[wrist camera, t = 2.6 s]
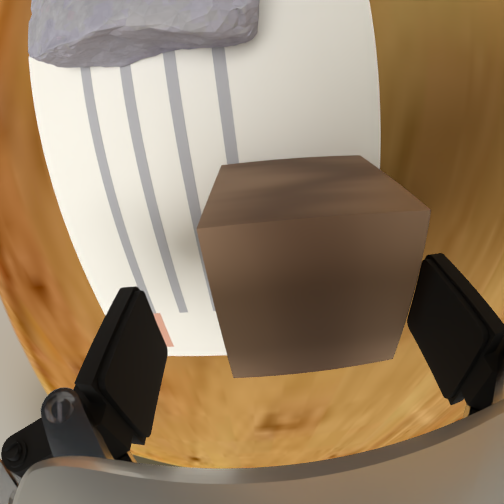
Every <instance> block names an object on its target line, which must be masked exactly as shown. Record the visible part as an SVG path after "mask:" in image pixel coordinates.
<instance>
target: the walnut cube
mask: <svg viewBox="0 0 504 504" xmlns="http://www.w3.org/2000/svg"><path fill="white" fill-rule="evenodd" d="M430 214H431V210H430V209H429V208H428V207H427V206H426V205H425V204H423V203H422V202H421V201H420V200H419V199H417V198H416V197H415V196H414V195H412V194H411V193H410V192H409V191H407V190H406V189H405V188H404V187H402V186H401V185H400V184H399V183H397V182H396V181H395V180H393V179H392V178H391V177H389V176H388V175H387V174H385V173H384V172H383V171H381V170H380V169H379V168H377V167H376V166H374V165H373V164H372V163H370V162H369V161H367V160H366V159H365V158H363V157H362V156H360V155H349V156H322V157H304V158H290V159H277V160H265V161H255V162H245V163H236V164H228V165H221V167H220V170H219V172H218V175H217V177H216V180H215V182H214V185H213V187H212V190H211V192H210V195H209V197H208V200H207V202H206V205H205V208H204V210H203V213H202V215H201V218H200V221H199V223H198V226H197V234H198V238H199V243H200V247H201V252H202V256H203V261H204V265H205V269H206V274H207V278H208V282H209V286H210V290H211V294H212V298H213V302H214V306H215V310H216V314H217V318H218V322H219V326H220V330H221V334H222V338H223V341H224V345H225V349H226V352H227V356H228V360H229V363H230V367H231V371H232V374H233V378H244V377H262V376H276V375H287V374H298V373H307V372H315V371H323V370H331V369H338V368H344V367H351V366H357V365H363V364H368V363H374V362H379V361H384V360H389V359H393V357H394V354H395V351H396V348H397V346H398V343H399V340H400V337H401V334H402V331H403V328H404V325H405V321H406V318H407V315H408V312H409V308H410V305H411V301H412V298H413V294H414V290H415V286H416V283H417V279H418V274H419V270H420V266H421V262H422V257H423V252H424V247H425V242H426V237H427V232H428V226H429V220H430Z"/></svg>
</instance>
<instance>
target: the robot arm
mask: <svg viewBox="0 0 504 504" xmlns="http://www.w3.org/2000/svg"><path fill="white" fill-rule="evenodd" d="M407 323H408V327H409V329H410V331H411V333H412V335H413V337H414V338H415V340H416V342H417V344H418V346H419V348H420V350H421V352H422V354H423V356H424V357H425V359H426V361H427V363H428V365H429V367H430V369H431V371H432V373H433V375H434V377H435V380H436V382H437V384H438V386H439V388H440V390H441V392H442V394H443V396H444V397H445V398H446V399H447V398H448V400H449V402H450V405H453V404H455V403H458V402H460V401H462V400H463V399H465V401H466V407H465V411H464V415H463V418H462V419H461V420H458V421H456V422H454V423H451V424H449V425H447V426H444V427H442V428H439V429H437V430H434V431H431V432H429V433H426V434H423V435H420V436H417V437H414V438H411V439H408V440H405V441H402V442H399V443H396V444H392V445H389V446H385V447H382V448H378V449H374V450H370V451H366V452H362V453H358V454H353V455H349V456H344V457H339V458H334V459H328V460H322V461H316V462H309V463H302V464H294V465H285V466H274V467H260V468H237V469H209V468H186V467H172V466H160V465H159V466H158V465H150V464H140V463H137V462H136V460H135V459H134V457H133V455H132V454H131V452H130V447H131V443H133V444H140V445H145V440H146V437H149V436H150V434H151V430H152V425H153V420H154V415H155V410H156V405H157V400H158V396H159V391H160V386H161V382H162V377H163V373H164V368H165V364H166V360H167V355H168V350H167V346H166V343H165V341H164V339H163V336H162V334H161V332H160V329H159V327H158V325H157V322H156V320H155V317H154V315H153V312H152V310H151V307H150V305H149V302H148V300H147V297H146V294H145V292H144V291H142V290H140V289H139V288H138V287H136V286H135V287H122V288H120V289H119V291H118V293H117V295H116V297H115V299H114V300H113V302H112V304H111V306H110V308H109V310H108V312H107V314H106V316H105V318H104V320H103V322H102V324H101V326H100V328H99V330H98V332H97V334H96V336H95V338H94V341H93V343H92V345H91V347H90V349H89V351H88V353H87V356H86V358H85V360H84V362H83V365H82V367H81V369H80V371H79V374H78V376H77V378H76V381H75V384H76V385H75V387H74V390H72V389H70V388H59V389H56V390H54V391H53V392H51V393H50V394H49V395H48V396H47V397H46V398H45V400H44V402H43V404H42V407H41V417H42V418H40V419H38V420H37V421H35V422H33V423H32V424H30V425H28V426H27V427H25V428H24V429H22V430H20V431H18V432H17V433H15V434H13V435H12V436H10V437H9V438H8V439H7V440H6V441H5V443H4V445H3V447H2V452H1V456H2V460H1V459H0V504H504V324H503V323H502V321H501V320H500V319H499V317H498V316H497V315H496V313H495V312H494V311H493V310H492V308H491V307H490V306H489V305H488V304H487V302H486V301H485V300H484V299H483V297H482V296H481V295H480V294H479V293H478V292H477V290H476V289H475V288H474V287H473V286H472V285H471V283H470V282H469V281H468V280H467V279H466V278H465V277H464V276H463V274H462V273H461V272H460V271H459V270H458V269H457V268H456V267H455V266H454V265H453V264H452V263H451V262H450V260H449V259H448V258H447V257H446V256H445V255H444V254H442V253H438V254H431V255H427V256H426V258H425V260H423V261H422V263H421V268H420V272H419V277H418V281H417V285H416V289H415V293H414V297H413V301H412V304H411V308H410V311H409V315H408V319H407Z"/></svg>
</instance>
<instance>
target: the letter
mask: <svg viewBox="0 0 504 504" xmlns="http://www.w3.org/2000/svg"><path fill="white" fill-rule="evenodd" d="M29 68H30V77H31V86H32V93H33V100H34V107H35V112H36V118H37V123H38V128H39V133H40V138H41V142H42V147H43V151H44V155H45V159H46V163H47V167H48V171H49V174H50V178H51V181H52V185H53V188H54V191H55V195H56V198H57V201H58V204H59V207H60V210H61V213H62V216H63V219H64V221H65V224H66V227H67V230H68V232H69V235H70V238H71V240H72V243H73V245H74V248H75V250H76V253H77V255H78V258H79V260H80V262H81V265H82V267H83V269H84V272H85V274H86V276H87V278H88V281H89V283H90V285H91V287H92V289H93V291H94V293H95V296H96V298H97V300H98V302H99V304H100V306H101V308H102V310H103V312H104V314H105V316H106V314H107V312H108V310H109V308H110V306H111V304H112V302H113V300H114V299H115V297H116V295H117V293H118V291H119V289H120V288H122V287H135V286H136V287H138V288H139V289H140V290H142V291H144V292H145V294H146V297H147V300H148V302H149V305H150V307H151V310H152V312H153V315H154V317H155V320H156V322H157V325H158V327H159V329H160V332H161V334H162V336H163V339H164V341H165V343H166V346H167V350H168V355H167V356H213V355H227V352H226V349H225V345H224V341H223V338H222V334H221V330H220V326H219V322H218V318H217V314H216V310H215V306H214V302H213V298H212V294H211V290H210V286H209V282H208V278H207V274H206V269H205V265H204V261H203V256H202V252H201V247H200V243H199V238H198V234H197V226H198V223H199V221H200V218H201V215H202V213H203V210H204V208H205V205H206V202H207V200H208V197H209V195H210V192H211V190H212V187H213V185H214V182H215V180H216V177H217V175H218V172H219V170H220V167H221V165H228V164H236V163H245V162H255V161H265V160H277V159H290V158H304V157H322V156H349V155H360V156H362V157H363V158H365V159H366V160H367V161H369V162H370V163H372V164H373V165H374V166H376V167H377V168H379V169H380V149H381V125H380V93H379V77H378V64H377V53H376V44H375V35H374V28H373V21H372V14H371V8H370V2H369V0H260V1H259V19H258V32H257V34H256V35H255V37H254V38H253V39H252V40H250V41H248V42H246V43H241V44H238V45H235V46H228V47H215V48H197V49H189V50H187V49H180V50H174V51H169V52H165V53H161V54H158V55H156V56H152V57H148V58H144V59H141V60H139V61H136V62H134V63H132V64H129V65H126V66H123V67H102V66H91V67H86V68H80V67H78V68H75V67H74V68H63V67H56V66H54V65H51V64H47V63H44V62H40V61H37V60H35V59H33V58H31V57H30V56H29Z"/></svg>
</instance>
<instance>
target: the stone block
mask: <svg viewBox="0 0 504 504" xmlns="http://www.w3.org/2000/svg"><path fill="white" fill-rule="evenodd" d="M259 1H260V0H32V3H31V11H32V16H31V19H30V21H29V30H28V53H29V55H30V57H31V58H33V59H35V60H37V61H40V62H44V63H47V64H51V65H54V66H56V67H63V68H74V67H75V68H78V67H80V68H86V67H91V66H102V67H123V66H126V65H129V64H132V63H134V62H136V61H139V60H141V59H144V58H148V57H152V56H156V55H158V54H161V53H165V52H169V51H174V50H180V49H187V50H189V49H197V48H215V47H228V46H235V45H238V44H241V43H246V42H248V41H250V40H252V39H253V38H254V37H255V35H256V34H257V32H258V19H259Z"/></svg>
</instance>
